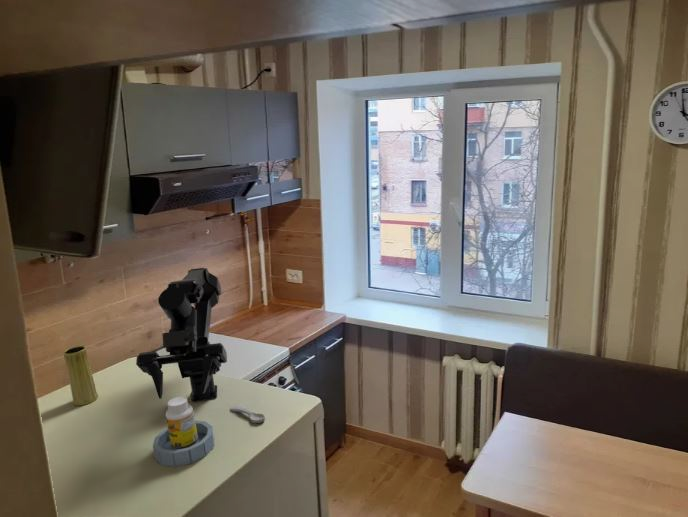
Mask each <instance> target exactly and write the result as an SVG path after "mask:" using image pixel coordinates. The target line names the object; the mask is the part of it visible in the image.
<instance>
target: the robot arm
mask: <svg viewBox="0 0 688 517" xmlns="http://www.w3.org/2000/svg"><path fill="white" fill-rule="evenodd" d="M187 271H188V272H187V274H186V275H185V276H184V277H183V278H182V279H181V280H174V281H171V282H169V283H168V284H167V287H166V289H164V290H163V291H162V292H161V293H160V294H159V297H158V298H157V302H158V305H159V307H160V308H161V309H162V311H163V313H164V314H165V316H167V318H168V319H169V320H170V329H169V330H168V332H163V333H162V334H161V335H162V348H163V349H165V351H166V353H169V354H166V355H159V354H158V353H157V351H156V350H154V351H146V352H145V351H144V352H140V353H139V354H138V355H137V356H136V360H135V361H136V362H135V365H136V366H137V367H138V369H140V370H141V372H143V373H146V374H148V376H151V378H152V381H153V384H154V387H155V390H156V394H157V396H158V397H157V398H158V399H159V400H161V399H163V393H164V388H163V387H164V372H163V370H162V368H163V365H170V364H177V366H178V369H179V372H180V377H181V379H186V378H189V381H190V382H189V383H190V387H191V393H190V398H189V399H190V403H195V402H200V401H204V400H210V399H216V398H218V385H217V384H215V381H214V375H216V374H217V373H218V372H219V371H220V370H221V368H220V367H222V364H225V363H227V362H228V355H227V354H228V353H227V350H226V348H225V347H224V345H223V344H222V342H218V343H210V342H209V336H210V335H209V334H210V328H211V319H212V318H211V317H212V311H213V310H212V309H213V308H214V307H215V306H216V305H217V304H218V303H219V299H220V296H222V289H221V288H222V287H221V284H220V281H219V278H218V276H216V275H214V274H213V273H210V271H209V270H208V268H207V267H206V268H205V267H198V268H191V269H189V270H187ZM192 304H193V305H192ZM220 372H221V371H220Z"/></svg>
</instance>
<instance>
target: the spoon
mask: <svg viewBox="0 0 688 517" xmlns="http://www.w3.org/2000/svg"><path fill="white" fill-rule="evenodd" d="M229 411H231V412H234V413H235V412H237V413H243V414H246V415H248V416H249V419H250V421H251V423H253V424H261V423H263V422H265V420H266V417H265V415H264V414H263V413H256V412H253V411H251V410H249V408H248V409H247V408H245V407H242V406H238V405H235V406H232V407H231V408H229Z"/></svg>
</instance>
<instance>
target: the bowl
mask: <svg viewBox="0 0 688 517" xmlns="http://www.w3.org/2000/svg"><path fill="white" fill-rule="evenodd" d="M195 423H196V429H197V434H198V442H197V444H195V445H193V446H190V447H188V448H184V449H179V450H174V449H173V448H172V446H171V442H170V436H169V431H168V427H167V428H164V429H162V431H161V432H159V433H158V434H157V435H156V436H155V437H154V439H153V444H152V449H153V453H154V458H155V460H156V461H157V462H158V463H159V464H160V465H161V466H165V467H166V466H167V467H180V466H185V465H190V464H192V463H195V462H197V461H199V460H201V459H203V458H204V457H206V456H207V455H208V454H209V453H210V452H211V451H212V450H213V449H212V448H213V447H214V448H215V442H214V440H216V439H215V434H214V428H213V427H214V426H213V425H211V424H210V423H208V422H207V421H204V420H195ZM211 449H212V450H211ZM210 450H211V451H210Z"/></svg>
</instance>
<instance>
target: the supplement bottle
mask: <svg viewBox="0 0 688 517" xmlns="http://www.w3.org/2000/svg"><path fill="white" fill-rule="evenodd" d="M193 408H194V407H193V406H192V405H191V404H189V402H188V398H187V397H186V396H176V397H173V398H171V399H169V401H167V410H166V412H165V420H166V425H167V428H168V431H169V436H170V442H171V446H172V448H173V449H174V450H179V449H184V448H188V447H190V446H193V445H195V444H197V442H198V434H197V429H196V423H195V421H196V419H195V418H196V417H195V414H194V409H193Z"/></svg>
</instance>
